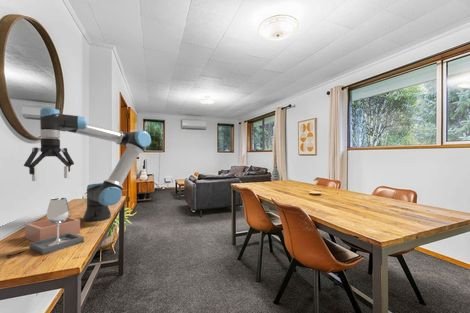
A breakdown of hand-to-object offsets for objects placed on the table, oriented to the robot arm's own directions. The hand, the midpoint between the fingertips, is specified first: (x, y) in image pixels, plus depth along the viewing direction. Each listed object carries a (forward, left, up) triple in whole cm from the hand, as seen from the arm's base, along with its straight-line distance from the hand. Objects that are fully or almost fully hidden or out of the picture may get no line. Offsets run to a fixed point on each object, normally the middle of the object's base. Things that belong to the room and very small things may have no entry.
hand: (51, 179), depth 107 cm
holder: (0, +2, -29) cm, 29 cm away
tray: (+5, +19, -29) cm, 35 cm away
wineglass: (+4, +19, -28) cm, 34 cm away
